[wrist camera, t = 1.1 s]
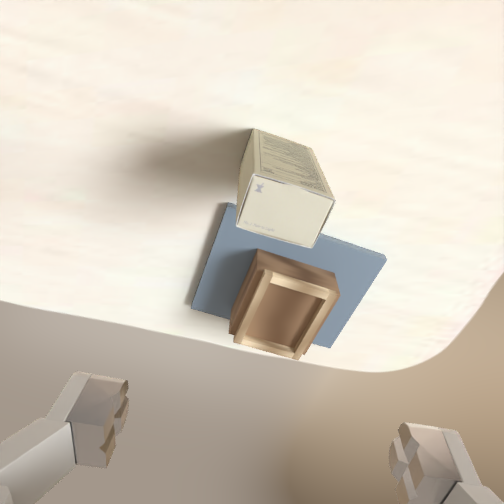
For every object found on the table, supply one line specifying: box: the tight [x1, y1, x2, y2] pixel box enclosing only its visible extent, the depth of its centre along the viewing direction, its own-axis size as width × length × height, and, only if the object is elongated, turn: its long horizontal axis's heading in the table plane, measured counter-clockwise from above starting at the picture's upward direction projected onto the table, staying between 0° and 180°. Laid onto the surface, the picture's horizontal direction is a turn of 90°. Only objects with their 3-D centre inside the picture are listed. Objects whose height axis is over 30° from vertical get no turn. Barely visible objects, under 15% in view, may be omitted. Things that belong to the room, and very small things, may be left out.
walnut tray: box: [229, 248, 341, 360], centre depth 43 cm, size 9×10×5 cm
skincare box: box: [236, 129, 336, 248], centre depth 33 cm, size 6×4×12 cm
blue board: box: [191, 203, 387, 348], centre depth 45 cm, size 18×14×1 cm
